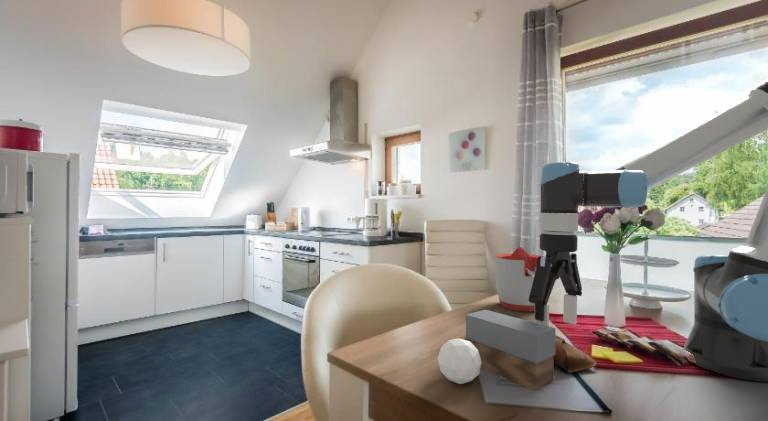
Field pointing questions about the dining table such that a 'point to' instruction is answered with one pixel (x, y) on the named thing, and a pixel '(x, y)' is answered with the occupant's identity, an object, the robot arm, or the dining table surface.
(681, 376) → the dining table surface
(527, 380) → the tower base block
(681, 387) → the dining table surface
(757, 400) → the dining table surface
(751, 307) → the robot arm
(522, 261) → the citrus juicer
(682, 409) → the dining table surface
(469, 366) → the geometric ball
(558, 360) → the sunglasses case
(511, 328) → the tower top block
